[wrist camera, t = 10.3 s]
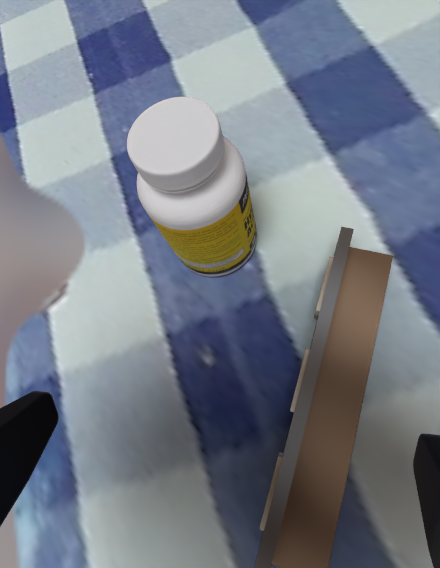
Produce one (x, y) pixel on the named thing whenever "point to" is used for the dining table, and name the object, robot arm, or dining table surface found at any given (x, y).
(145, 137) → the supplement bottle
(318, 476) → the rail
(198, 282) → the dining table surface
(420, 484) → the robot arm
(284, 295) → the dining table surface
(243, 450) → the dining table surface
